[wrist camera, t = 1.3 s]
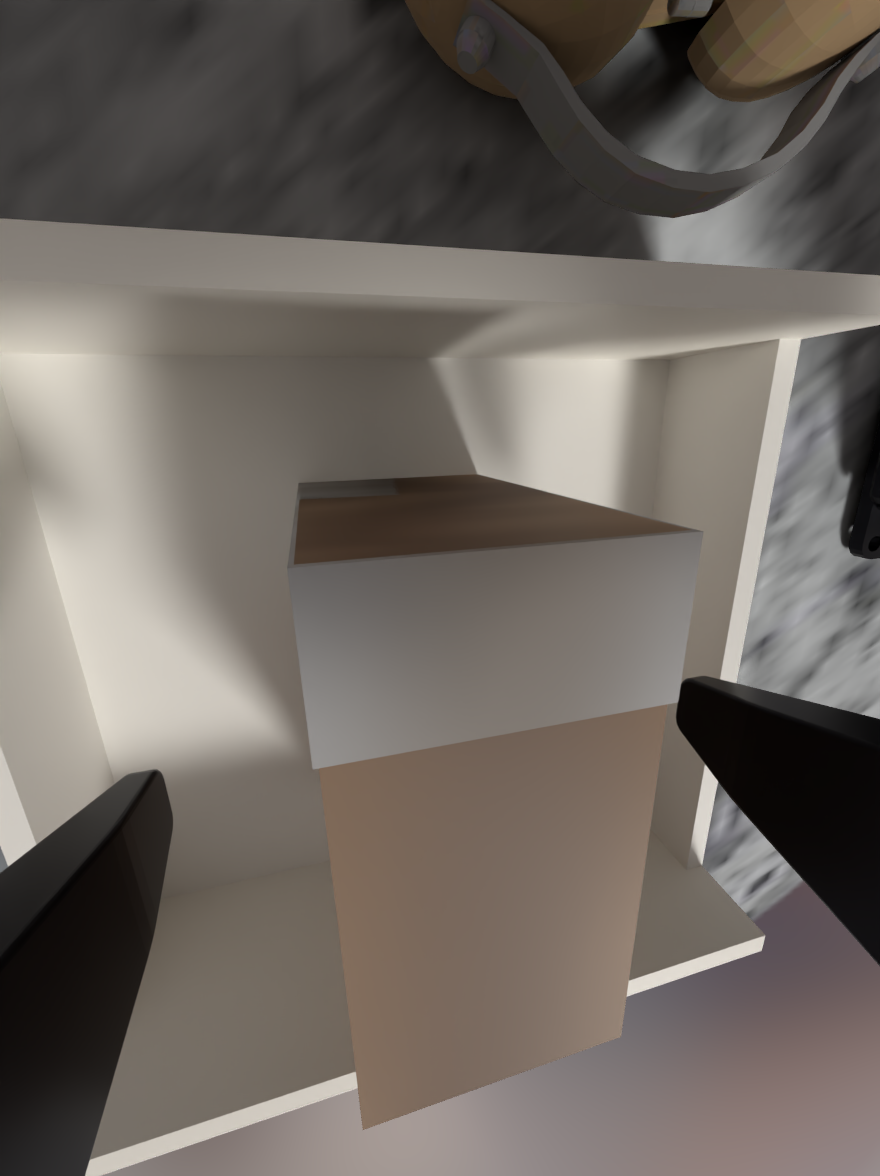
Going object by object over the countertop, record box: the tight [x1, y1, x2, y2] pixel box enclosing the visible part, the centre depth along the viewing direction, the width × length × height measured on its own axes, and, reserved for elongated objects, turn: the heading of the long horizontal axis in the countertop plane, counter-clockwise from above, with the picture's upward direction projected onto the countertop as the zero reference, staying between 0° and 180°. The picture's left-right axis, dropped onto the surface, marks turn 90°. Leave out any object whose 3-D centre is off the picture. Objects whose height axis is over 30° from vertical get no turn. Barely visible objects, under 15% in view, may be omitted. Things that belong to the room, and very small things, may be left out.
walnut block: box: [287, 474, 704, 1130], centre depth 9 cm, size 4×8×7 cm, turn 2°
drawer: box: [0, 218, 880, 1176], centre depth 10 cm, size 15×14×6 cm
